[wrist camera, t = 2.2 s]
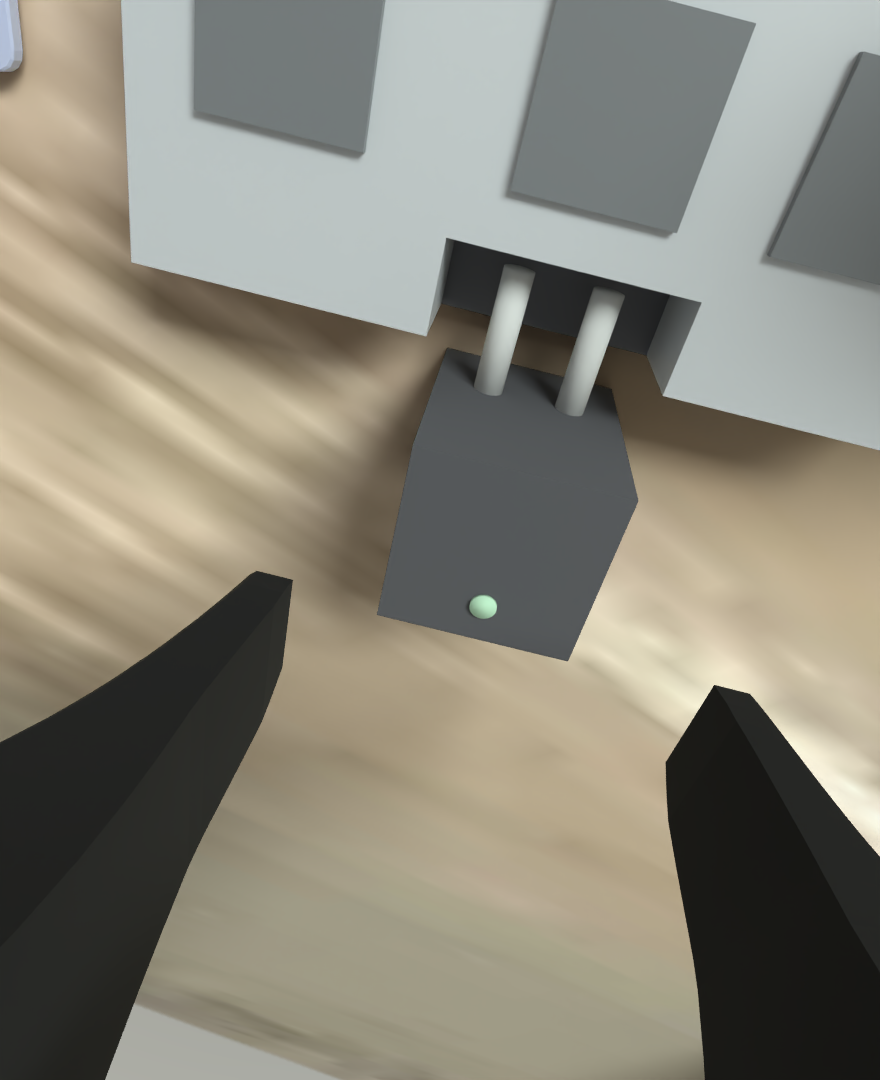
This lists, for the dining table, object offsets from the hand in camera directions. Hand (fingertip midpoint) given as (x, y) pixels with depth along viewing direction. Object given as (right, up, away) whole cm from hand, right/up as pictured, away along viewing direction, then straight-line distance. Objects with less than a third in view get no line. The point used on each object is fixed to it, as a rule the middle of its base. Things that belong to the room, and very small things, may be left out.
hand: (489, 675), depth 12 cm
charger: (+1, +6, +7) cm, 9 cm away
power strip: (+3, +11, +4) cm, 12 cm away
